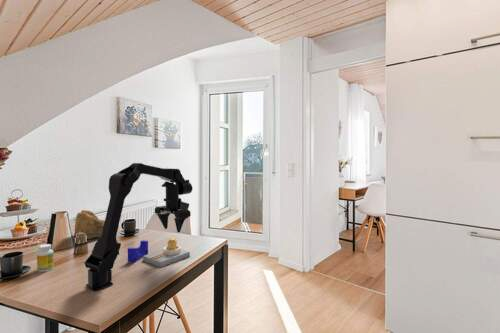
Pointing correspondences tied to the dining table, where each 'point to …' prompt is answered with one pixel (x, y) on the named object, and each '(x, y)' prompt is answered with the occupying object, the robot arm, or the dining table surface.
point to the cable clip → (138, 251)
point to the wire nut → (172, 244)
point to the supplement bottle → (45, 258)
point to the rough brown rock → (88, 224)
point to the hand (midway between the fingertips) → (172, 230)
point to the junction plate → (166, 256)
